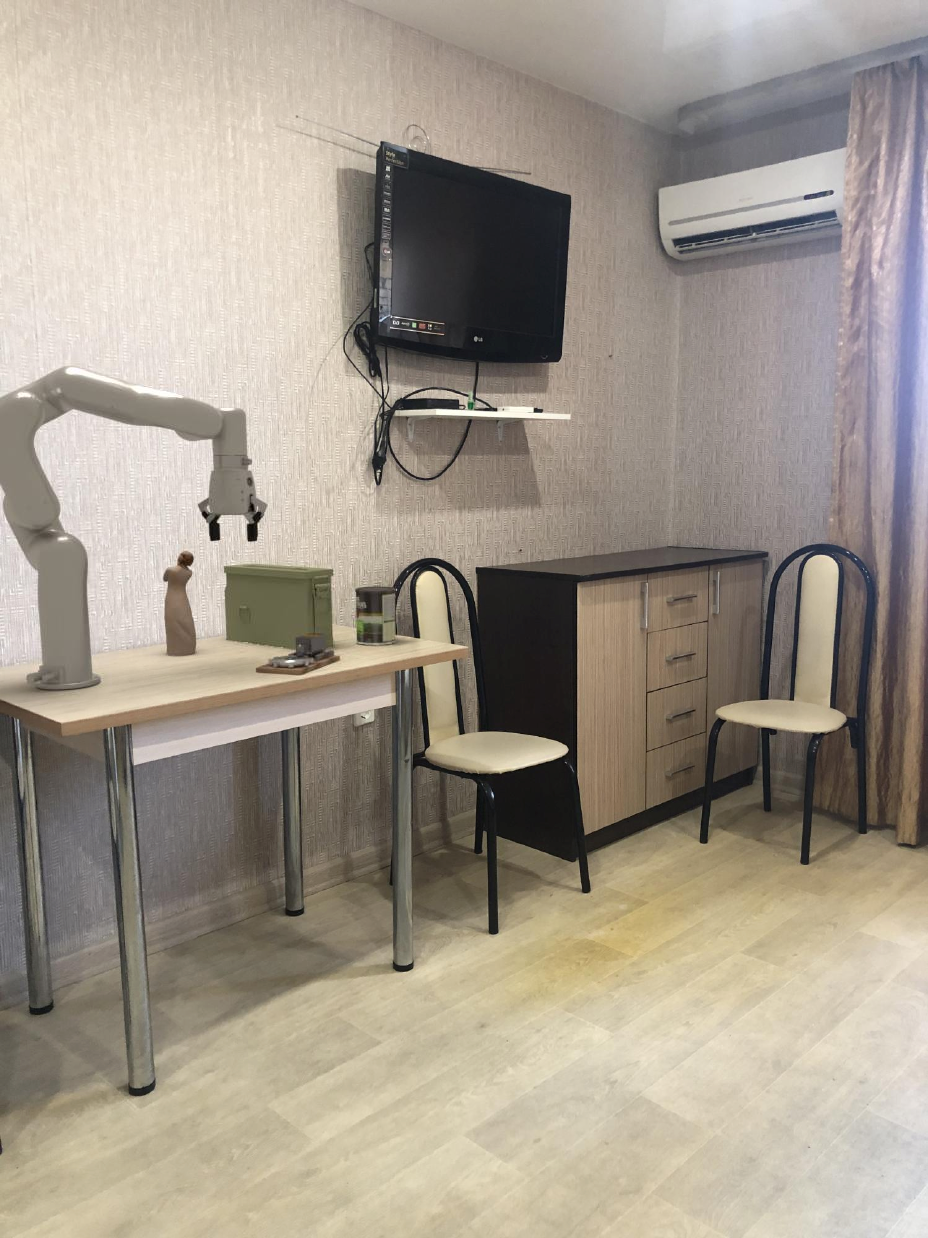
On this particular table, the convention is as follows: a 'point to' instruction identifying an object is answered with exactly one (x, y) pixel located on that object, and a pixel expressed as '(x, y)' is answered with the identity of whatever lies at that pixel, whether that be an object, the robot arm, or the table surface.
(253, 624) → the ammunition box
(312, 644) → the charcoal rectangular block
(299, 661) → the sprocket
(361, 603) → the coffee can
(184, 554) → the figurine
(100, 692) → the table surface
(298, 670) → the board
